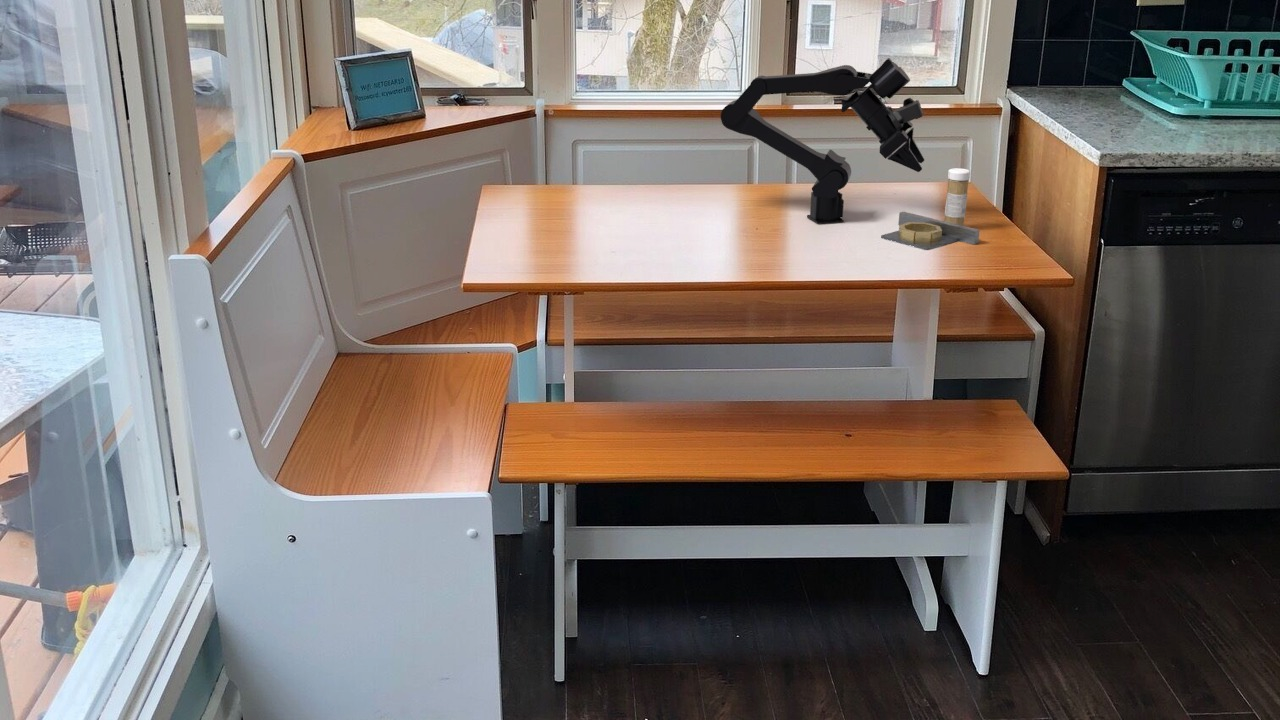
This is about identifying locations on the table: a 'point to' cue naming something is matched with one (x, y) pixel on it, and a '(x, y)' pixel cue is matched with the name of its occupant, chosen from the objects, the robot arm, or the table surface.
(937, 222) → the plate
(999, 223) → the table surface
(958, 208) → the sprinkles bottle
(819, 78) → the robot arm
